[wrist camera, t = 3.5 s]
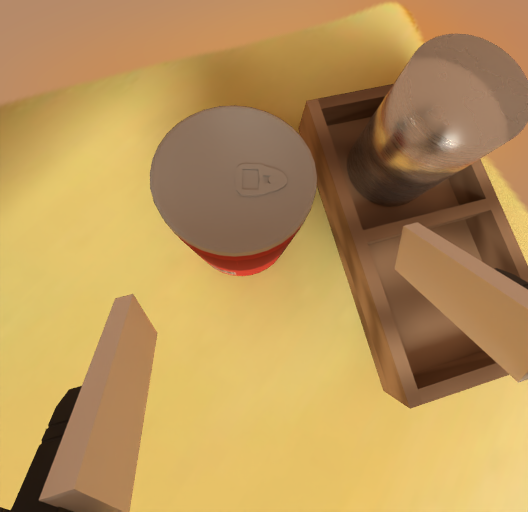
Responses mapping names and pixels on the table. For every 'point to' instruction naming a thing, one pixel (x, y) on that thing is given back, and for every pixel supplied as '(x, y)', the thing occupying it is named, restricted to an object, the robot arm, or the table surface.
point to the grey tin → (439, 119)
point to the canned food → (234, 186)
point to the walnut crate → (386, 249)
